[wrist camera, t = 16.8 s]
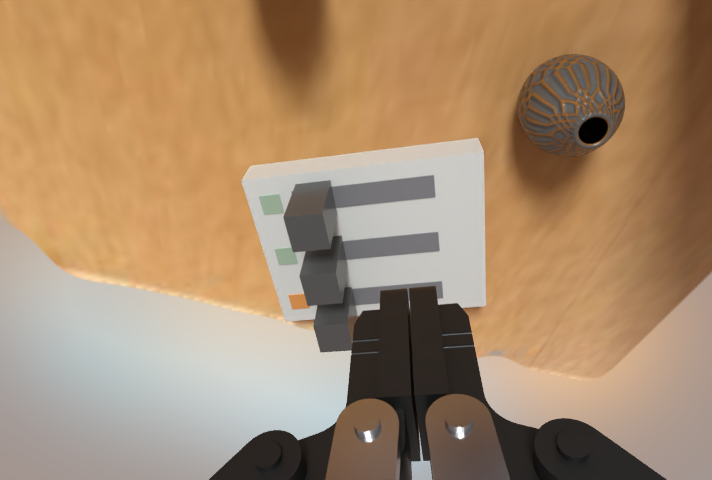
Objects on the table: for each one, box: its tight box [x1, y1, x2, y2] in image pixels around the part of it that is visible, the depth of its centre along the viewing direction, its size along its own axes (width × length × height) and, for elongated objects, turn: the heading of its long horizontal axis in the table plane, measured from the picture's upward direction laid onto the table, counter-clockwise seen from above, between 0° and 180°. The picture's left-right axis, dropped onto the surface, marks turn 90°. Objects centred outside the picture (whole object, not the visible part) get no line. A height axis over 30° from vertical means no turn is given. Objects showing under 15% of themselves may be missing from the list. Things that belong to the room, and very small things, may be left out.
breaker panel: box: [242, 138, 486, 321], centre depth 42 cm, size 20×16×8 cm
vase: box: [518, 54, 625, 156], centre depth 34 cm, size 7×7×9 cm
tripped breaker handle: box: [314, 287, 357, 352], centre depth 44 cm, size 3×3×5 cm
